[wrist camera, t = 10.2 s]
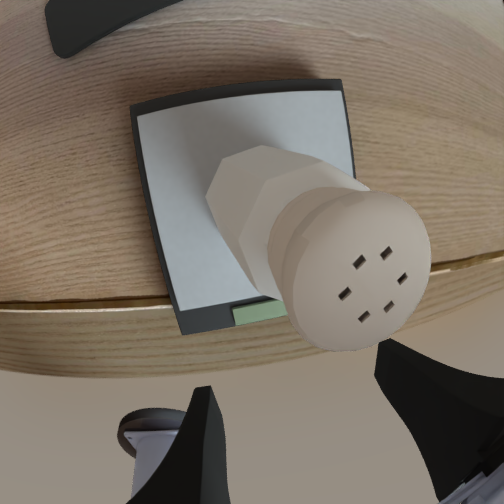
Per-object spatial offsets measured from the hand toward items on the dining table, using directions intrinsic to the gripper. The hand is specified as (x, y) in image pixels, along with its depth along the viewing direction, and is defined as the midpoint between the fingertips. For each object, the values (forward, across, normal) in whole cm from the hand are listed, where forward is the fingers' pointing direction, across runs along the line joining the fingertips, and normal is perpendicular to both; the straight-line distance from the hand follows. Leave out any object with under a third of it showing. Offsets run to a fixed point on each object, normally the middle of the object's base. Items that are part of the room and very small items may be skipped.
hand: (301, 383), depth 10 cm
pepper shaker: (+6, 0, -7) cm, 9 cm away
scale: (+9, 0, -6) cm, 11 cm away
